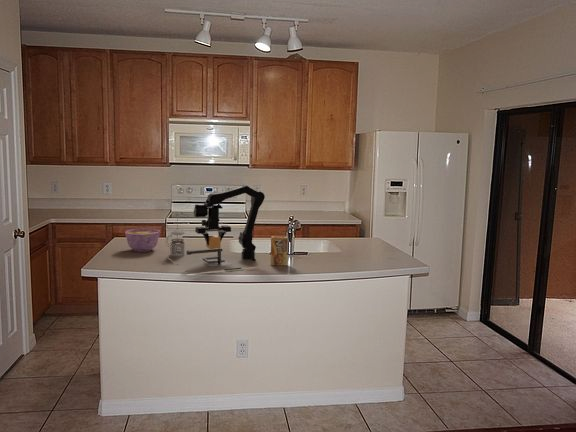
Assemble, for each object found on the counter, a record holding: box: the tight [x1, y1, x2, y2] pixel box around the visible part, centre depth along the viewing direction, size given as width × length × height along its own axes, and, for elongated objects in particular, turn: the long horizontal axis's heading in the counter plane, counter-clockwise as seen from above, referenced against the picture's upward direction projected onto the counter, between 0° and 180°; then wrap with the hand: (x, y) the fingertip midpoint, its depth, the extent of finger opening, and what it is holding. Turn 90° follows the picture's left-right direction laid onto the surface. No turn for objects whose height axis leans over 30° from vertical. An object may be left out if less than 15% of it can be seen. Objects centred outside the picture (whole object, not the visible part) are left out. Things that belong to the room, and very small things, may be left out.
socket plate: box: [198, 255, 232, 267], centre depth 271 cm, size 12×20×2 cm, turn 28°
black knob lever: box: [186, 248, 224, 264], centre depth 260 cm, size 19×2×8 cm, turn 118°
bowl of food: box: [124, 228, 161, 253], centre depth 296 cm, size 20×20×12 cm
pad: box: [223, 267, 244, 273], centre depth 260 cm, size 9×9×1 cm
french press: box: [165, 212, 185, 257], centre depth 282 cm, size 10×12×25 cm
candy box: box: [270, 235, 288, 266], centre depth 270 cm, size 9×4×15 cm, turn 89°
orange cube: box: [205, 235, 221, 250], centre depth 271 cm, size 6×6×6 cm
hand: (213, 244), depth 271 cm, fingers closed on orange cube, 6 cm apart
